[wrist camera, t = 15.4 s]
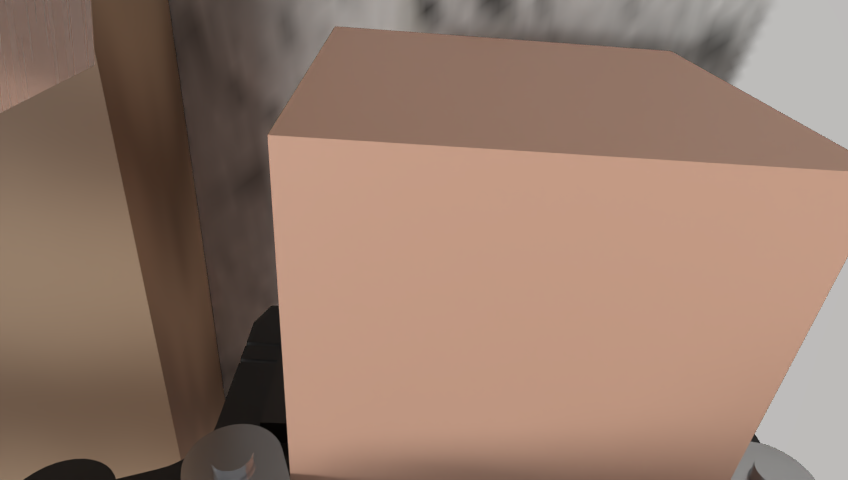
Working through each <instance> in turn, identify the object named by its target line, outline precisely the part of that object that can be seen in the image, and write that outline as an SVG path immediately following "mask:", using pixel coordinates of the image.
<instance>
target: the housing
mask: <svg viewBox="0 0 848 480" xmlns="http://www.w3.org/2000/svg"><path fill="white" fill-rule="evenodd" d="M91 6H92V22H93V37H94V53H95V65H94V66H92V67H90V68H88V69H86V70H84V71H82V72H80V73H78V74H76V75H74V76H72V77H70V78H68V79H66V80H64V81H62V82H60V83H58V84H56V85H54V86H52V87H50V88H48V89H46V90H44V91H43V92H41V93H39V94H37V95H35V96H33V97H31V98H29V99H27V100H25V101H23V102H21V103H19V104H17V105H15V106H13V107H11V108H9V109H7V110H5V111H3V112H1V113H0V480H24V479H25V478H26V477H28V476H30V475H31V474H33V473H34V472H36V471H38V470H40V469H42V468H44V467H46V466H49V465H52V464H54V463H57V462H61V461H65V460H71V459H92V460H96V461H99V462H101V463H103V464H105V465H107V466H108V467H109V468H110V469H111V470H112V472H113V473H114V475H115V477H116V479H118V478H122V477H127V476H131V475H135V474H139V473H143V472H147V471H152V470H156V469H160V468H163V467H166V466H169V465H172V464H174V463H177V462H179V461H181V460H182V459H184V458H185V456H186V454H187V453H188V451H189V450H190V448H191V447H192V446H193V445H194V444H195V443H196V442H197V441H198V440H200V439H201V438H202V437H204V436H205V435H207V434H208V433H210V432H212V431H214V429H215V426H216V424H217V421H218V419H219V416H220V413H221V411H222V408H223V405H224V403H225V397H224V390H223V383H222V376H221V369H220V362H219V355H218V348H217V341H216V334H215V326H214V319H213V312H212V305H211V298H210V291H209V284H208V277H207V270H206V263H205V256H204V249H203V242H202V235H201V228H200V221H199V214H198V207H197V200H196V193H195V185H194V178H193V171H192V164H191V157H190V150H189V143H188V136H187V129H186V122H185V115H184V108H183V101H182V94H181V87H180V80H179V73H178V66H177V59H176V51H175V44H174V37H173V30H172V23H171V16H170V9H169V2H168V0H91Z"/></svg>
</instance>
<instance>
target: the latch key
mask: <svg viewBox="0 0 848 480" xmlns="http://www.w3.org/2000/svg"><path fill="white" fill-rule="evenodd" d="M94 65H95V53H94V37H93V22H92V6H91V0H0V113H1V112H3V111H5V110H7V109H9V108H11V107H13V106H15V105H17V104H19V103H21V102H23V101H25V100H27V99H29V98H31V97H33V96H35V95H37V94H39V93H41V92H43V91H44V90H46V89H48V88H50V87H52V86H54V85H56V84H58V83H60V82H62V81H64V80H66V79H68V78H70V77H72V76H74V75H76V74H78V73H80V72H82V71H84V70H86V69H88V68H90V67H92V66H94Z"/></svg>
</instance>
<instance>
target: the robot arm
mask: <svg viewBox="0 0 848 480" xmlns="http://www.w3.org/2000/svg"><path fill="white" fill-rule="evenodd" d="M24 480H290V465H289V450H288V435H287V420H286V405H285V391H284V376H283V361H282V346H281V331H280V316H279V306H271V307H270V308H269V309H268V310H267V311H266V312H265V313H264V314H263V315H261V316H260V317H259V318H258V319H257V320H256V321H255V322H254V325H253V327H252V330H251V333H250V335H249V338H248V341H247V346H245V349H244V352H243V354H242V357H241V363H239V365H238V368H237V370H236V373H235V376H234V378H233V381H232V384H231V386H230V389H229V392H228V395H227V397H226V400H225V403H224V405H223V408H222V411H221V413H220V416H219V419H218V421H217V424H216V426H215V429H214V431H212V432H210V433H208V434H207V435H205V436H204V437H202V438H201V439H200V440H198V441H197V442H196V443H195V444H194V445H193V446H192V447H191V448H190V450H189V451H188V453H187V454H186V456H185V458H184V459H182V460H181V461H179V462H177V463H174V464H172V465H169V466H166V467H163V468H160V469H156V470H152V471H147V472H143V473H139V474H135V475H131V476H127V477H122V478H118V479H116V477H115V475H114V473H113V472H112V470H111V469H110V468H109V467H108V466H107V465H105V464H103V463H101V462H99V461H96V460H92V459H71V460H65V461H61V462H57V463H54V464H52V465H49V466H46V467H44V468H42V469H40V470H38V471H36V472H34V473H33V474H31V475H30V476H28V477H26V478H25V479H24ZM731 480H815V479H814V477H813V476H812V475H811V474H810V473H809V472H808V471H807V470H806V469H805V468H804V467H803V466H802V465H801V464H800V463H799V462H797V461H796V460H795V459H793V458H792V457H790V456H789V455H787V454H785V453H784V452H782V451H780V450H777V449H776V448H773V447H770V446H768V445H765V444H761V443H760V442H759V440H758V439H757V437H756V436H755V434H754V436H753V438H752V440H751V442H750V443H749V445H748V447H747V449H746V451H745V453H744V455H743V457H742V459H741V461H740V462H739V464H738V466H737V468H736V470H735V472H734V474H733V476H732V478H731Z"/></svg>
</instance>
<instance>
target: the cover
mask: <svg viewBox="0 0 848 480" xmlns="http://www.w3.org/2000/svg"><path fill="white" fill-rule="evenodd" d="M267 136H268V151H269V166H270V181H271V196H272V211H273V226H274V241H275V256H276V271H277V286H278V301H279V316H280V331H281V346H282V361H283V376H284V391H285V405H286V420H287V435H288V450H289V465H290V480H731V478H732V476H733V474H734V472H735V470H736V468H737V466H738V464H739V462H740V461H741V459H742V457H743V455H744V453H745V451H746V449H747V447H748V445H749V443H750V442H751V440H752V438H753V436H754V434H755V432H756V430H757V428H758V426H759V424H760V422H761V420H762V419H763V417H764V415H765V413H766V411H767V409H768V407H769V405H770V403H771V401H772V400H773V398H774V396H775V394H776V392H777V390H778V388H779V386H780V385H781V383H782V381H783V379H784V377H785V375H786V373H787V371H788V369H789V367H790V366H791V363H792V362H793V360H794V358H795V356H796V354H797V352H798V350H799V348H800V346H801V345H802V343H803V341H804V339H805V337H806V335H807V333H808V331H809V329H810V327H811V326H812V324H813V322H814V320H815V318H816V316H817V314H818V312H819V310H820V308H821V307H822V305H823V303H824V301H825V299H826V297H827V295H828V293H829V291H830V289H831V288H832V286H833V284H834V282H835V280H836V278H837V276H838V274H839V272H840V270H841V269H842V267H843V265H844V263H845V261H846V259H847V257H848V150H847V149H845V148H844V147H841V146H840V145H838V144H836V143H835V142H833V141H831V140H829V139H827V138H825V137H824V136H822V135H820V134H818V133H817V132H815V131H813V130H811V129H809V128H808V127H806V126H804V125H802V124H800V123H799V122H797V121H795V120H793V119H792V118H790V117H788V116H786V115H784V114H783V113H781V112H779V111H777V110H775V109H774V108H772V107H770V106H768V105H767V104H765V103H763V102H761V101H759V100H758V99H756V98H754V97H752V96H751V95H749V94H747V93H745V92H743V91H742V90H740V89H738V88H736V87H734V86H733V85H731V84H729V83H727V82H725V81H724V80H722V79H720V78H718V77H717V76H715V75H713V74H711V73H709V72H708V71H706V70H704V69H702V68H700V67H699V66H697V65H695V64H693V63H691V62H690V61H688V60H686V59H684V58H683V57H681V56H679V55H677V54H675V53H674V52H672V51H663V50H650V49H636V48H622V47H609V46H595V45H582V44H568V43H554V42H541V41H527V40H514V39H500V38H486V37H473V36H459V35H445V34H432V33H418V32H405V31H391V30H377V29H364V28H350V27H336V26H335V27H334V29H333V31H332V32H331V34H330V36H329V37H328V39H327V40H326V42H325V44H324V45H323V47H322V48H321V50H320V52H319V53H318V55H317V56H316V58H315V60H314V61H313V63H312V64H311V66H310V68H309V69H308V71H307V72H306V74H305V76H304V77H303V79H302V80H301V82H300V84H299V85H298V87H297V88H296V90H295V92H294V93H293V95H292V96H291V98H290V100H289V101H288V103H287V104H286V106H285V108H284V109H283V111H282V112H281V114H280V116H279V117H278V119H277V120H276V122H275V124H274V125H273V127H272V129H271V130H270V132H269V133H268V135H267Z"/></svg>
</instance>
